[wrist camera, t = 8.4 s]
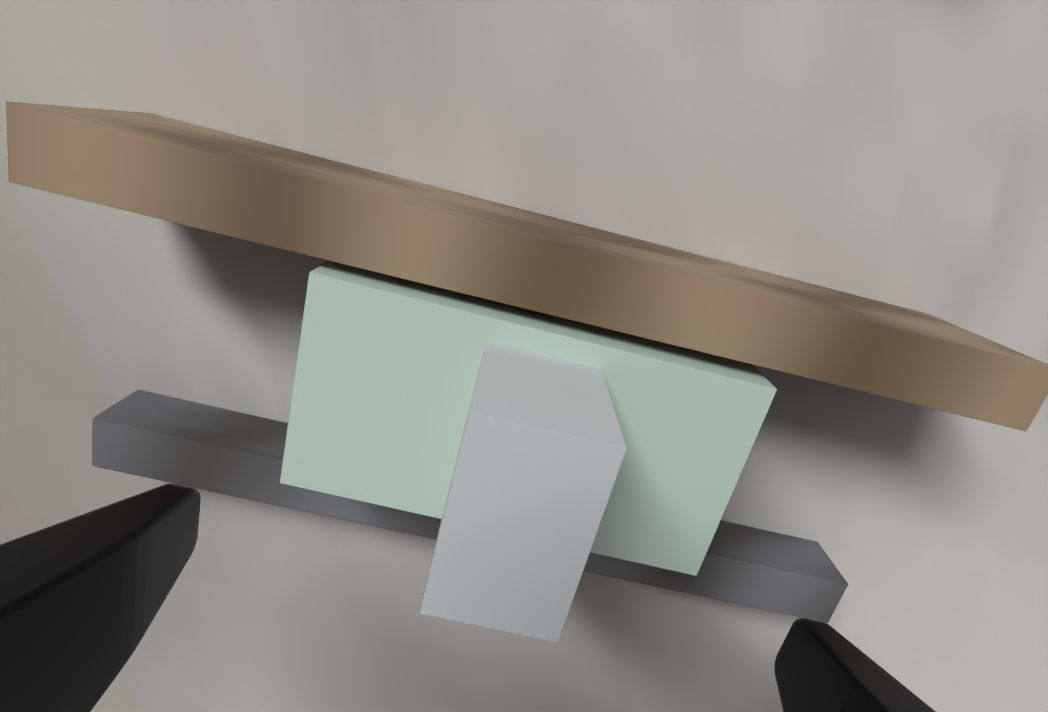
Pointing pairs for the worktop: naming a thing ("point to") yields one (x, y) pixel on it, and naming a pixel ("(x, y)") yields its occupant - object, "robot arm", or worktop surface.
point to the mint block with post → (514, 439)
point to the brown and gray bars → (507, 277)
